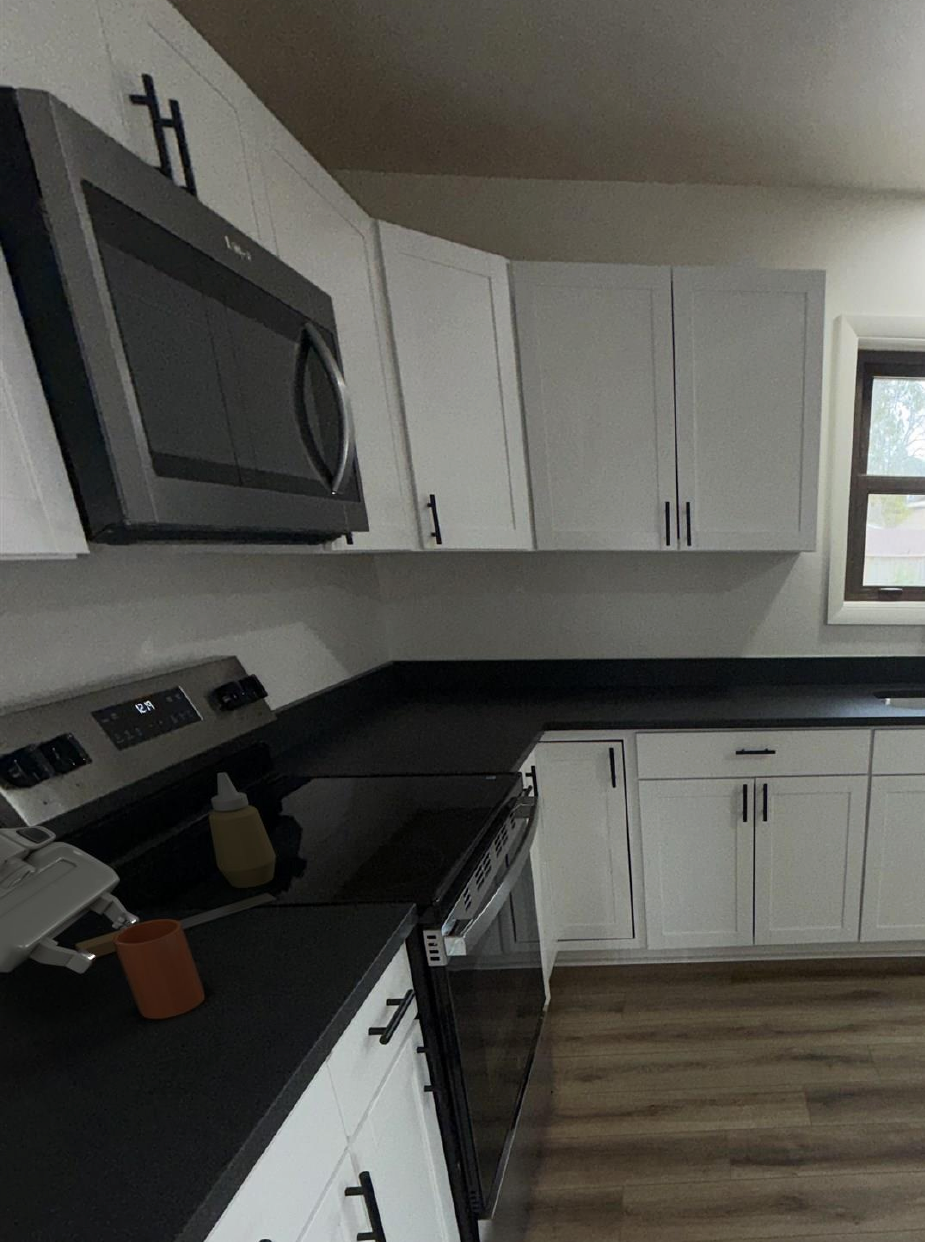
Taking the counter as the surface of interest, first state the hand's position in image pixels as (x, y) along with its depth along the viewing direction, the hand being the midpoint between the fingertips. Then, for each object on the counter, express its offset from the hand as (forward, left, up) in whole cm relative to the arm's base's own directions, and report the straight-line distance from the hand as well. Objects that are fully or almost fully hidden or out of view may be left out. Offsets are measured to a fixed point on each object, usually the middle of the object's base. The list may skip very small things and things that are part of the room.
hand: (113, 945), depth 89 cm
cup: (+3, -2, -9) cm, 10 cm away
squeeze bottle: (+25, +29, -9) cm, 39 cm away
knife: (+12, +20, -9) cm, 25 cm away
